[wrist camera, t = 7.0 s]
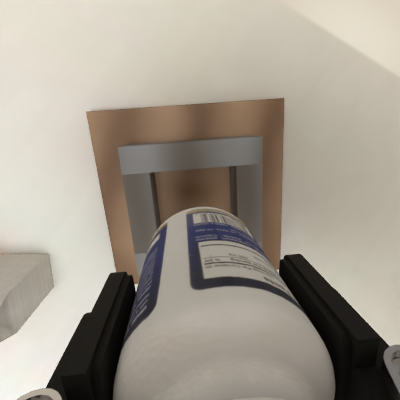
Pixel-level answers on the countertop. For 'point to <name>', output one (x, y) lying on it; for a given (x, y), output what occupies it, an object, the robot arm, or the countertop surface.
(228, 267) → the pill bottle
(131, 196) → the mount
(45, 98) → the countertop surface
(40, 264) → the grey upright pouch
